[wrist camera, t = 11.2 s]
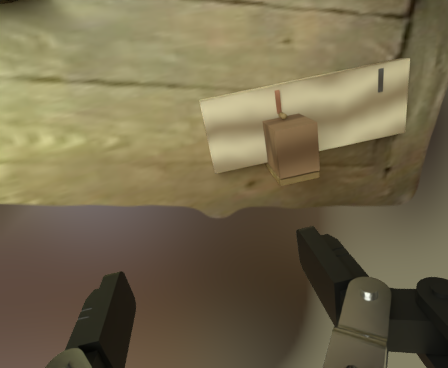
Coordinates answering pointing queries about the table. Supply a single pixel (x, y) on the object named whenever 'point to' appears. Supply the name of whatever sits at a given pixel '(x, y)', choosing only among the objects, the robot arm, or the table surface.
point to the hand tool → (6, 1)
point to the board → (309, 111)
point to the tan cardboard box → (292, 148)
